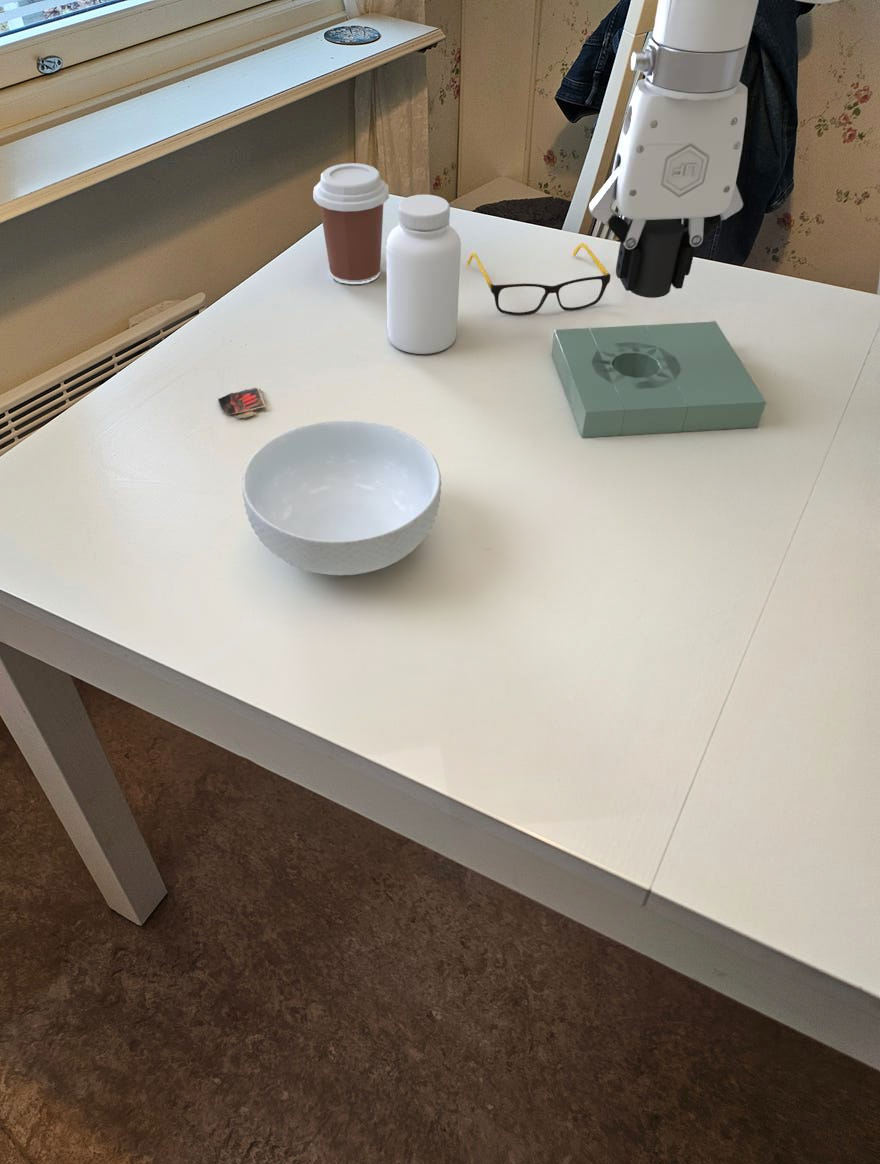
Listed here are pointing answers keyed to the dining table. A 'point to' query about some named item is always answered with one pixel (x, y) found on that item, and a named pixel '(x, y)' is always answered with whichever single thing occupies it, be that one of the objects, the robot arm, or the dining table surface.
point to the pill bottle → (423, 276)
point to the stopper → (657, 257)
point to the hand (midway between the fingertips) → (650, 281)
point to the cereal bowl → (342, 496)
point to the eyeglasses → (548, 289)
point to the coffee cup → (352, 219)
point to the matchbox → (242, 402)
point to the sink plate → (655, 379)
